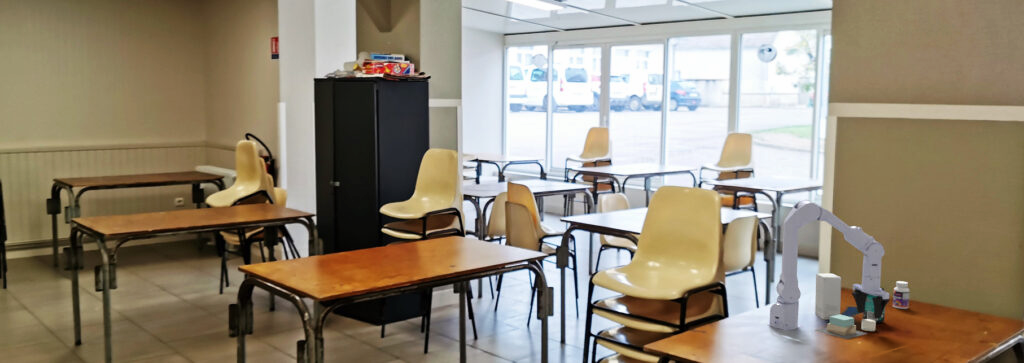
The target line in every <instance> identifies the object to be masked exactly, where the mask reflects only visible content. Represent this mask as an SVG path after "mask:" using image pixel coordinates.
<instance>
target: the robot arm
mask: <svg viewBox="0 0 1024 363" xmlns="http://www.w3.org/2000/svg"><path fill="white" fill-rule="evenodd" d="M815 221H818V222H826V223H827V224H828V225H830V226H832V227H833V228H834V229H836V230H838V231H839V232H840V233H842V234H843V238H844V240H845V241H846V242H847V243H849V245H852V246H853V247H855V249H857V250H859V251H861V253H862V254H863V261H862V274H861V275H862V276H861V284H859V283H854V284H852V292H851V295H852V297H853V298H854V302H855V305H856V309H857V313H859V314H863V313H864V311H865V303H866V299H867V296H868V294H871V295H874V296H877V297H875V298H872V300H873V304H874V317H875V318H876V319H877V318H881V316H882V313H883V310H884V308H885V309H886V306H887V304H888V303H889V302H890V292H887V291H885V290H884V291H883V290H882V288H883V287H881V278H882V276H881V275H882V258H883V257H884V255H885V253H886V251H885V249H884V246H883V245H882V244H881V242H878V241H876V239H875V237H873V236H872V235H869V234H868V233H866V232H864V231H863V230H864V229H863V227H860V226H856V225H853V226H849V225H848V224H846V223H845V222H844V221H843V220H841V219H840V218H839V217H838V216H836V215H835V214H834V213H832V212H831V211H829V210H828V209H826V208H825V207H822V206H820V205H818V204H816V203H815V202H812V201H810V200H809V199H801V200H799V201H798V202H796V203H795V204H794V205H793V207H792V208H791V210H790V211H789V213H788V214H787V216H786V217H785V218H784V221H783V227H782V231H783V232H782V256H781V273H780V275H779V279H778V280H779V281H778V282H777V284H776V285H777V286H776V288H775V290H776V292H777V294H778V296H777V298H776V301H775V303H774V304H772V305H771V307H770V309H769V310H770V311H769V324H767V326H768V327H769V326H770V327H771V328H776V329H779V330H783V331H790V330H794V329H798V328H803V327H804V325H800V324H799V308H800V306H799V305H800V298H801V296H802V295H801V293H802V292H801V290H800V288H799V280H798V279H799V278H798V254H799V233H800V232H799V230H800V229H801V228H802V227H804V226H805V225H806V224H809V223H812V222H815ZM880 287H881V288H880Z"/></svg>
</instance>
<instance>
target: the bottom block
mask: <svg viewBox="0 0 1024 363" xmlns="http://www.w3.org/2000/svg"><path fill="white" fill-rule="evenodd" d="M829 323H830V322H829ZM829 323H827V324H826V327H827V331H829V332H832V333H836V334H840V335H844V336H845V335H849V334H853V333H856V331H857V325H855V324H854V325H853V326H849V327H845V328H843V327H840V326H836V325H832V324H829Z"/></svg>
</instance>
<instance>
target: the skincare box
mask: <svg viewBox="0 0 1024 363" xmlns="http://www.w3.org/2000/svg"><path fill="white" fill-rule="evenodd" d="M841 293H842V277H841V276H839V275H836V274H834V273H825V272H824V273H815V302H814V303H815V307H814V310H815V312H814V314H815V315H816V316H817V317H819V318H820V319H822V320H830V316H835V315H839V314H840V315H841V298H842V296H841V295H842V294H841Z"/></svg>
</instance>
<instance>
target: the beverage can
mask: <svg viewBox="0 0 1024 363" xmlns="http://www.w3.org/2000/svg"><path fill="white" fill-rule="evenodd" d="M880 288H882V290H883V291H885V288H884V287H881V286H880ZM875 297H877V296H874V295H871V294H868V296H867V299H866V303H865V311H864V313H862V319H870V320H874V321H876V324H877V323H878V324H882V323H883V322H885V315H886V307H885V308H884V310H883V313H882V316H881V318H877V319H876V318H875V317H874V304H873V300H872V298H875Z"/></svg>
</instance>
